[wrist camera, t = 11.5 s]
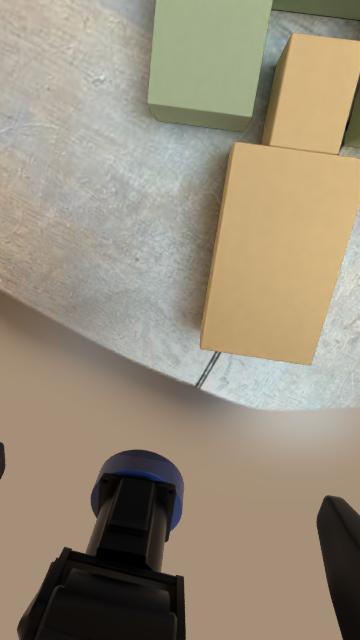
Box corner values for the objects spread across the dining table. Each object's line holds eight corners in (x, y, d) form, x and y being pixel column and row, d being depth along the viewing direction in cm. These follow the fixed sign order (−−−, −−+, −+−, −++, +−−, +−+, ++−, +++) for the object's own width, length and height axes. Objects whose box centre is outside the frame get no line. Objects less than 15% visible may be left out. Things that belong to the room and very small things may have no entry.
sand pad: (296, 343, 20) (311, 366, 17) (200, 329, 20) (199, 349, 17) (371, 75, 15) (408, 45, 12) (245, 59, 15) (253, 26, 13)
